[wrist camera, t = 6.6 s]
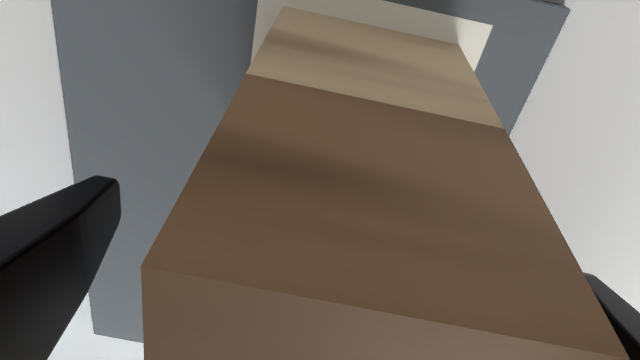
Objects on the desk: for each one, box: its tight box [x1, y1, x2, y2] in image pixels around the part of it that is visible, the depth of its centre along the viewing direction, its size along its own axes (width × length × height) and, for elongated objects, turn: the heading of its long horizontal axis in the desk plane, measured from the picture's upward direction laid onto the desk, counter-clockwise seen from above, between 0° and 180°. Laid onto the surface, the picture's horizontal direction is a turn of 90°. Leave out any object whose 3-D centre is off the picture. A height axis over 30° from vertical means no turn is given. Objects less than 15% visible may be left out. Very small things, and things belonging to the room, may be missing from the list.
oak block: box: [246, 6, 505, 129], centre depth 12 cm, size 5×5×5 cm
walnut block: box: [141, 74, 630, 360], centre depth 8 cm, size 5×5×5 cm
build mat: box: [51, 0, 570, 343], centre depth 17 cm, size 18×14×1 cm
